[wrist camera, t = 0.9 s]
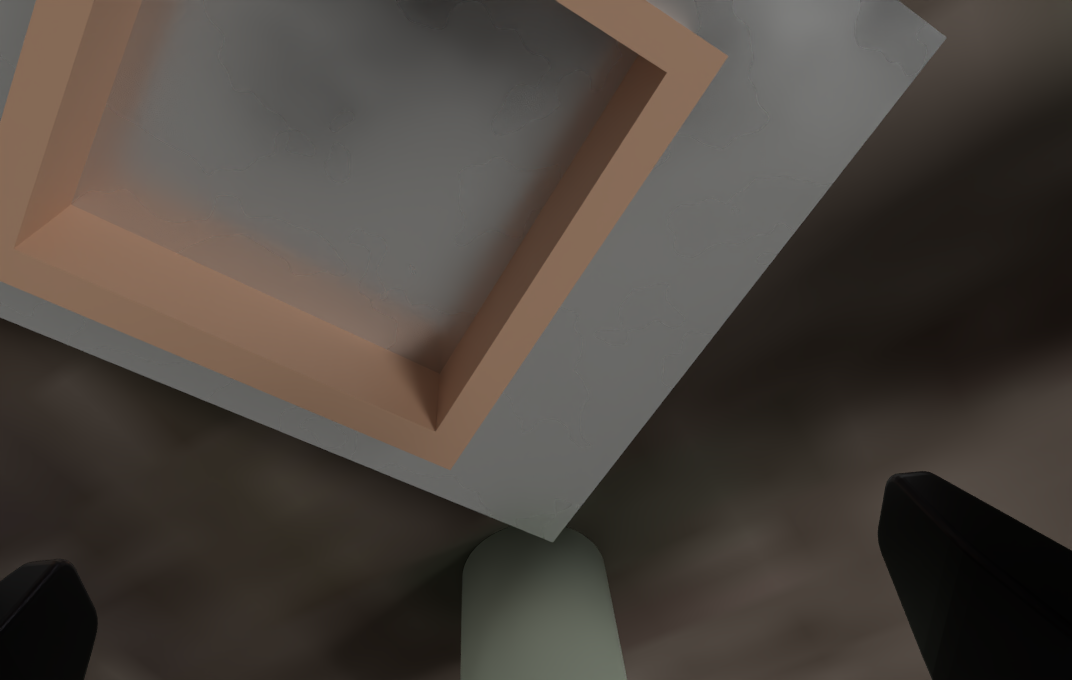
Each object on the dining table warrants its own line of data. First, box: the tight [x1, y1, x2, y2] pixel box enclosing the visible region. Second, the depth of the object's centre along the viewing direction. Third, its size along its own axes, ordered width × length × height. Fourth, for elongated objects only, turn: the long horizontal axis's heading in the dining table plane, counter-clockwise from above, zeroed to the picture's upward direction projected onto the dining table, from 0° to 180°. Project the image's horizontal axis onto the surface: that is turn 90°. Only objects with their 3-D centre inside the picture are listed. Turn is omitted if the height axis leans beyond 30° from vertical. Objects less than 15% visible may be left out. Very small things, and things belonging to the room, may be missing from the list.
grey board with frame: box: [0, 0, 947, 542], centre depth 17 cm, size 20×16×6 cm
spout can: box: [460, 526, 627, 680], centre depth 25 cm, size 5×7×7 cm
